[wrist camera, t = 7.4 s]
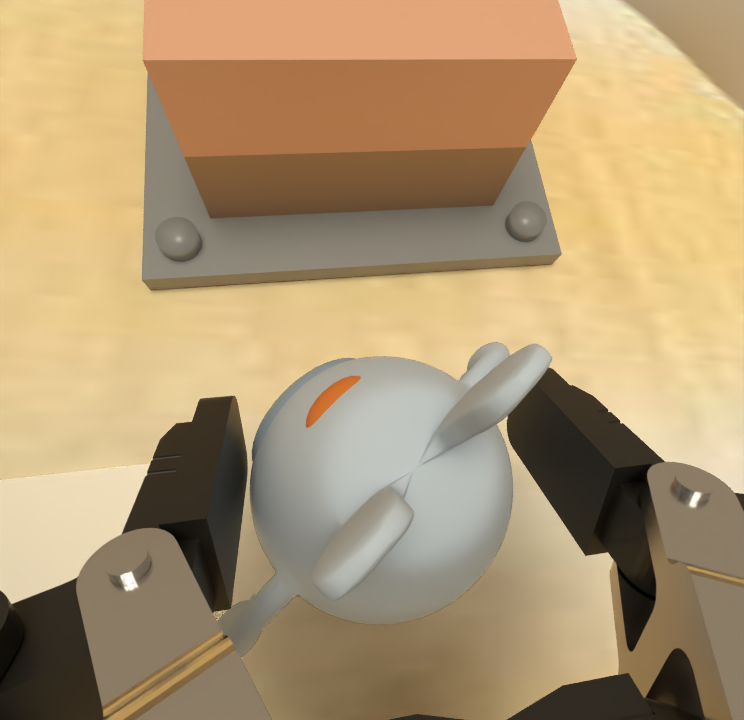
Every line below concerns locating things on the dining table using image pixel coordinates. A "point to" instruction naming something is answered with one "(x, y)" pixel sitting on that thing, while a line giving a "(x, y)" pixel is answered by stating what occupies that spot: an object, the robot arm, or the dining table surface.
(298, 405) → the toy figure
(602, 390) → the dining table surface
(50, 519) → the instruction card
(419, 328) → the dining table surface
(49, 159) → the dining table surface
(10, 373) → the dining table surface
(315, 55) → the orange square pedestal
